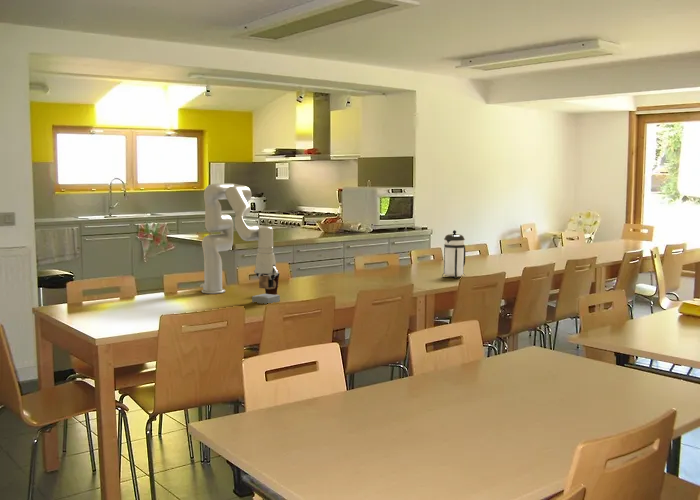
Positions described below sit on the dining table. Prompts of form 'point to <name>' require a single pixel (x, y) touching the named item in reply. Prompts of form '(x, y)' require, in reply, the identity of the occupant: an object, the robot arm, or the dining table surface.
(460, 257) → the coffee press
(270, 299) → the plinth
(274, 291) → the coffee cup
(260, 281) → the walnut block
